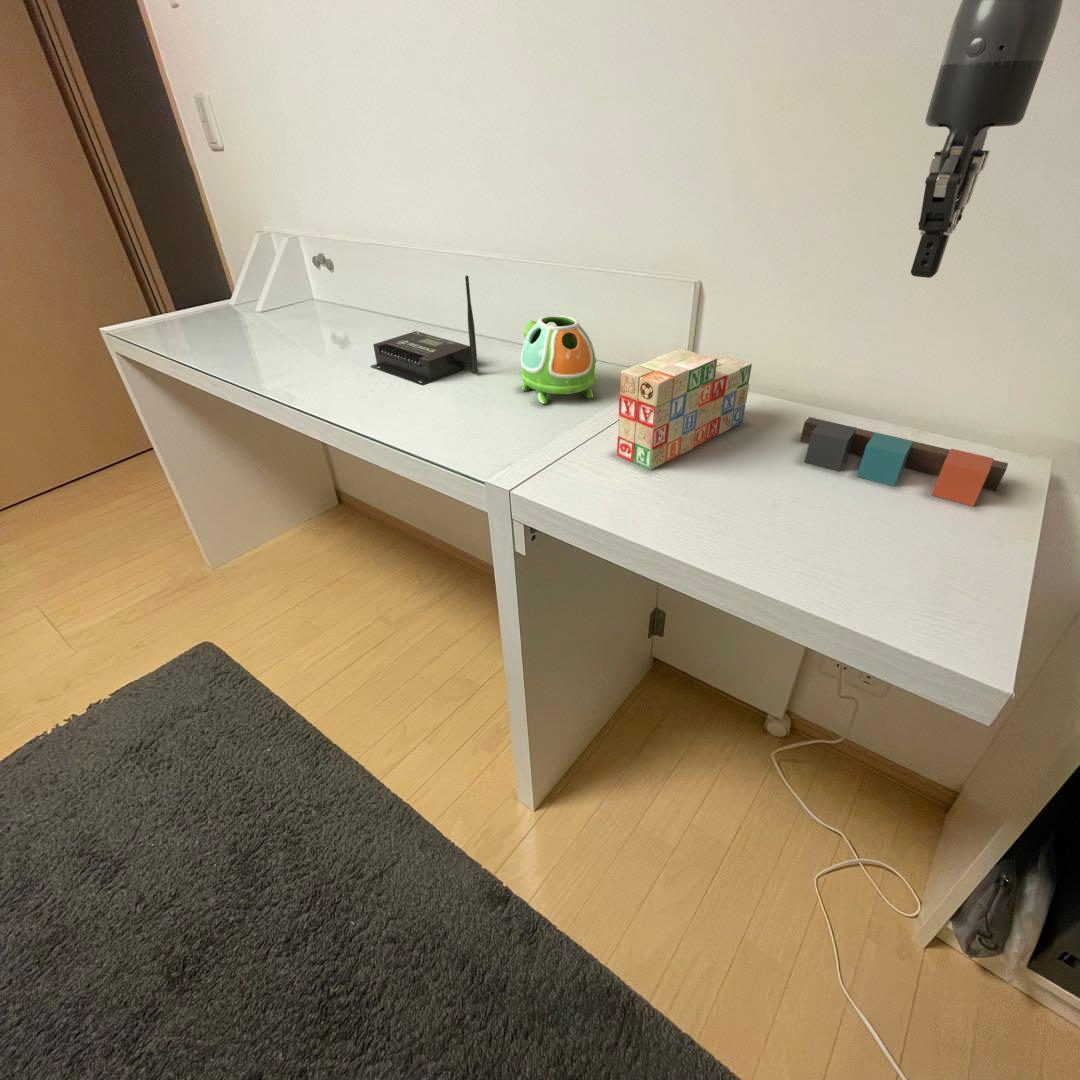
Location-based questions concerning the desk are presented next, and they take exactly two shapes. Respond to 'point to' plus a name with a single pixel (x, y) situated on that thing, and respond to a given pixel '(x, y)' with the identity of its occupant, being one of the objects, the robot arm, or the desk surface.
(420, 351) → the wireless controller
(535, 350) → the turtle holder
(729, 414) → the stack of blocks
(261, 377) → the desk surface
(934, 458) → the rail
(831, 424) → the block charcoal
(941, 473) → the block terracotta
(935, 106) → the robot arm
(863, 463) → the block teal
